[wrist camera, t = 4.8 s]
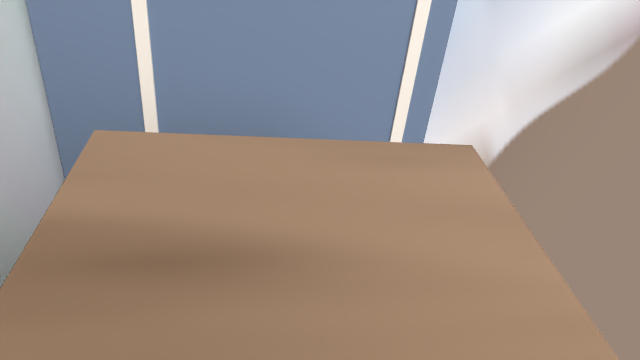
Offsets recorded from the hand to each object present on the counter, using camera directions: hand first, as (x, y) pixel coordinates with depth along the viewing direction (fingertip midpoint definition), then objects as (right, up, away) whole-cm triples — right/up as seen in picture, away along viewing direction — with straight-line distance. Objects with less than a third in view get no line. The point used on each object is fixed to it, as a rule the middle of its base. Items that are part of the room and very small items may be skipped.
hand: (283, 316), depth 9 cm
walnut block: (0, +1, +1) cm, 1 cm away
